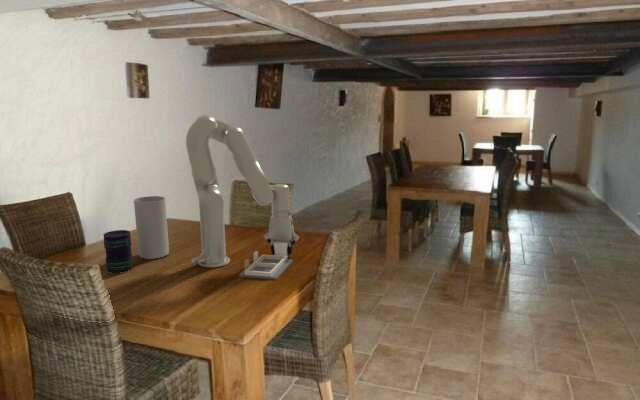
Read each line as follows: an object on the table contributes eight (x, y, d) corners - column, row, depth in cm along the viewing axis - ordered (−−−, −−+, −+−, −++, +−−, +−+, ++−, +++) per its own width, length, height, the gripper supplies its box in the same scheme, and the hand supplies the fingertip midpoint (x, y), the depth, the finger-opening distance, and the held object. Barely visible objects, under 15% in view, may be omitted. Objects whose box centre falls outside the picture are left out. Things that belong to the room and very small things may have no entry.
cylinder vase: (132, 257, 200) (127, 200, 195) (154, 249, 211) (150, 195, 206) (153, 261, 195) (148, 203, 190) (175, 253, 206) (171, 197, 201)
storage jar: (104, 275, 180) (100, 237, 177) (108, 266, 189) (105, 231, 186) (132, 272, 182) (128, 235, 179) (135, 264, 191) (131, 229, 188)
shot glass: (287, 259, 197) (287, 243, 195) (271, 258, 198) (271, 242, 196) (291, 254, 203) (291, 238, 202) (276, 253, 204) (276, 238, 203)
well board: (276, 279, 174) (276, 267, 173) (238, 276, 177) (238, 264, 176) (292, 261, 194) (292, 250, 193) (258, 259, 197) (258, 248, 196)
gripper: (302, 212, 198) (303, 252, 202) (264, 210, 202) (265, 250, 206) (298, 216, 191) (298, 258, 195) (258, 214, 195) (259, 255, 199)
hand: (281, 253), depth 200 cm, fingers closed on shot glass, 6 cm apart
